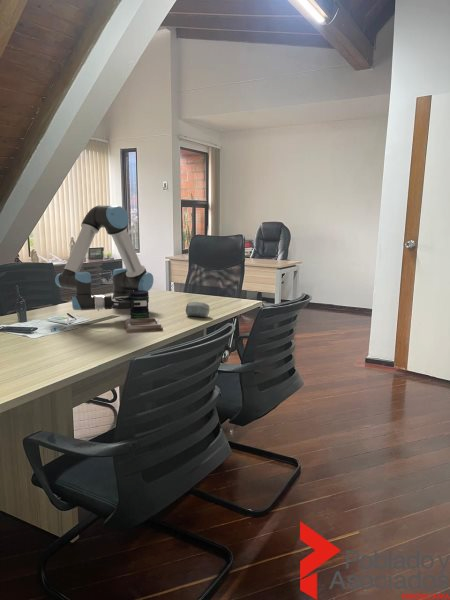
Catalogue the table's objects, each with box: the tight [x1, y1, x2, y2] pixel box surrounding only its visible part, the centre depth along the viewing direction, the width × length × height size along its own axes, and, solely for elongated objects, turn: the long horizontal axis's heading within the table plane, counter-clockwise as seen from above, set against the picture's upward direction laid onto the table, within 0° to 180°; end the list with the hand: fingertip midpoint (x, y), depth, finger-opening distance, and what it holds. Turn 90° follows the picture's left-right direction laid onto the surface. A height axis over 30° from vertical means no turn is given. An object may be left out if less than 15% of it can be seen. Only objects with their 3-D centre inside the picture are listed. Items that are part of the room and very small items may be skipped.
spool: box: [185, 301, 211, 318], centre depth 238 cm, size 14×10×10 cm
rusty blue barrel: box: [129, 290, 150, 319], centre depth 227 cm, size 10×10×15 cm
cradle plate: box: [124, 317, 164, 333], centre depth 212 cm, size 17×17×3 cm
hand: (145, 300), depth 228 cm, fingers open, 13 cm apart
